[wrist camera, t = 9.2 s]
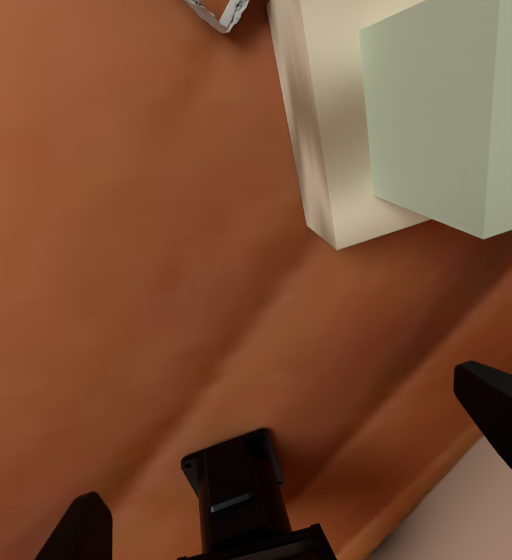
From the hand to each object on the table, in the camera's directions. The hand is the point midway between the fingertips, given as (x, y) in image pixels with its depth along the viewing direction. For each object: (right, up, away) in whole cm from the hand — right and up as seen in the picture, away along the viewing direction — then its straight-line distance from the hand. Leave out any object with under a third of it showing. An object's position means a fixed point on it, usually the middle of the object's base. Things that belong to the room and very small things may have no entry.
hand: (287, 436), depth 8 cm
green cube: (+6, +11, +6) cm, 14 cm away
